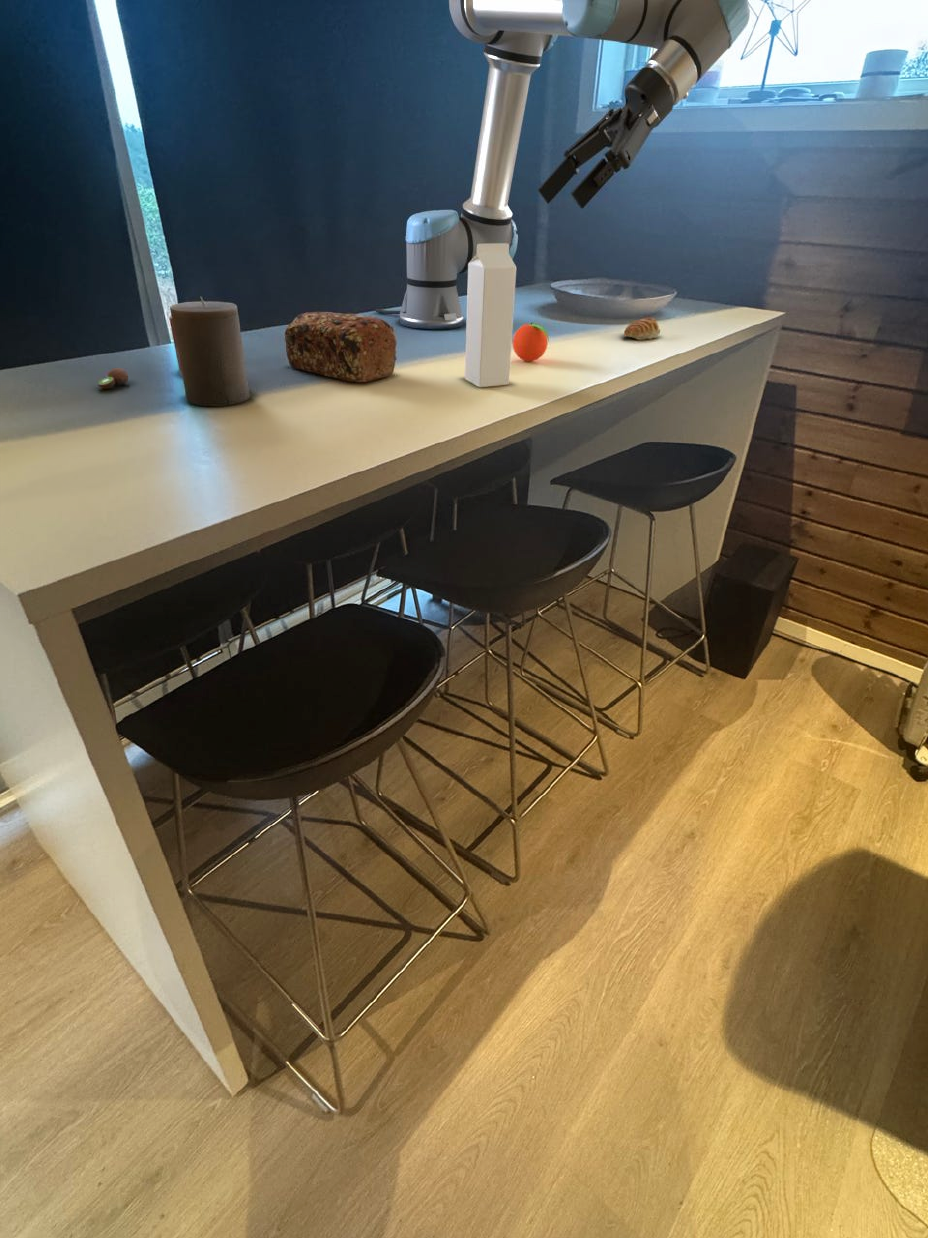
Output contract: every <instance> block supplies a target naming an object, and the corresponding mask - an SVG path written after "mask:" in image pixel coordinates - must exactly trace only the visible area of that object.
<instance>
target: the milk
mask: <svg viewBox="0 0 928 1238" xmlns="http://www.w3.org/2000/svg"><path fill="white" fill-rule="evenodd" d="M516 278H517V266H516V264H515V262H514V259H511V257H510V255H509V244H508V243H493V244H478V245H477V253H476V255H475V257H474V258H473V259H472V260H471V261H470V262H469V263H468V273H467V291H466V292H467V294H466V295H467V296H466V321H465V322H466V324H465V325H466V326H465V354H464V355H465V356H464V380H465V381H467V382H469V383H471V384H473V385H475V386H476V387H478V388H489V387H498V386H507V385H509V384H510V371H511V356H512V343H513V327H514V325H513V324H514V311H515V307H514V306H515V296H516V295H515V294H516V280H517V279H516Z"/></svg>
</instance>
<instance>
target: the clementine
mask: <svg viewBox="0 0 928 1238" xmlns="http://www.w3.org/2000/svg"><path fill="white" fill-rule="evenodd" d="M548 342H550V339H549V335H548V332H547V331H546V330H545V328H544V327H543V326H541V325H539V324H536V323H533V322H530V323H526V324H523V325H522V326H520V327H518V329H517V330H516V331H515V333H514V335H513V337H512V348H513V352H514V353H515V354H516V356H517V357H518V358H519V359H521V360H522V361H525V362H533V361H537V360H538V359H540V358H542V357H543V355H544V354H545V353H546V351H547V349H548V345H549V343H548Z"/></svg>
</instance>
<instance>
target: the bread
mask: <svg viewBox="0 0 928 1238" xmlns="http://www.w3.org/2000/svg"><path fill="white" fill-rule="evenodd" d="M284 340H285V352H286V357H287V360H288V364H289V365H290V367H291V368H292V369H299V370H302V371H305V372H309V373H312V374H318V375H321V376H324V377H329V378H335V379H338V380H341V381H347V382H355V383H368V382H370V381H376V380H379V379H382V378H387V377H390V376H391V375H393V374H394V371H395V367H396V361H397V356H396V355H397V338H396V335H395V332H394V327H393V326H392V325H391V324H389V322H388V321H386V320H384V319H383V318H380V317H377V316H372V315H361V314H356V313H340V312H331V311H330V312H329V311H312V312H305V313H301V314H297V316H296V317H295V318H294V319H293V321H292V322H291V323H289V324H288V325H287V326H286V328H285V331H284Z"/></svg>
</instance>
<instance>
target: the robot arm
mask: <svg viewBox="0 0 928 1238" xmlns="http://www.w3.org/2000/svg"><path fill="white" fill-rule="evenodd" d="M448 7H449V13H450V17H451V19H452V22H453V24H454V26H455V27H456V29H457V31H458V32H459V33H461V35H462V36H463V37H465V38H466V39H467V40H469V41H472V42H474V43H478V44H484V51H483V55H484V57H485V59H486V61H487V63H488V66H489V67H488V75H487V82H486V89H485V94H484V95H485V96H484V103H483V108H482V115H481V116H482V118H481V121H480V122H481V124H480V130H479V137H478V143H477V151H476V157H475V164H474V171H473V177H472V184H471V190H470V191H471V192H470V197H469V198H468V199H467V200H465V201H464V202H463V203H462V208H461V215H460V216H459V213H458V211H456V210H454V209H439V210H438V209H437V210H436V209H435V210H425V211H421V212H417V213H413V214H412V215H411V216H409V218H408V219H407V221H406V228H405V243H406V247H405V248H406V289H405V290H406V291H405V293H404V297H403V301H402V304H401V309H400V310H386V309H380V308H376V309H375V313H378V314H384V315H399V324H401V325H403V326H405V327H409V328H413V329H422V330H450V329H456V328H460V327H462V326H463V325H464V313H463V309H462V305H461V300H460V297H459V293H458V290H457V289H458V288H457V287H458V286H457V285H458V284H457V281H458V280H457V279H458V275H462V274H468V263H469V262H470V261H471V260H472V259H473V258H474V257H475V255H476V253H477V245H478V244H493V243H508V244H509V255H510V257H511V259H512V260H514V257H515V255H516V253H517V249H518V240H519V236H518V234H517V232H518V229H517V225H516V223H515V221H514V220H513V219H512V218H513V212H512V210H511V208H510V207H509V205H508V204H509V198H510V193H511V186H512V182H513V176H514V170H515V164H516V161H517V160H516V159H517V153H518V149H519V144H520V137H521V131H522V126H523V120H524V115H525V111H526V104H527V100H528V99H527V98H528V94H529V93H528V92H529V87H530V82H531V76H532V75H533V73H534V72H535V71H536V70H537V69H539V67H541V64H542V57H543V53H546V52H547V51H549V50H550V49H551V48H552V47H553V46H554V43H556V41H557V38H558V36H561V37H562V36H563V37H575V38H580V39H591V40H601V41H606V42H607V41H609V42H616V43H620V44H628V45H634V46H638V47H639V46H640V47H645V48H646V47H648V48H653V49H655V52H654V53H653V54H652V55H651V56H650V57H649V59H648V60H647V61H646V62H645V65H644V67H642V68H640V69H639V71H638V72H637V73H636V74H635V75H634V76H633V77H632V78H631V79H630V80H629V82H628V83H627V84H626V86H625V88H624V98H625V104H624V106H622V108H621V107H619V108H617V109H616V110H615V109H614V108H611V109H609V110H608V112H606V114H605V115H604V116H603V117H602V118H601V119H600V120H599V121H598V122H597V123H595V125H593V126H592V127H591V128H590V129H589V130H588V131H587V132H585V133H584V134H583V135H582V136H581V137H580V138H579V139H578V140H577V141H575V142H574V143H573V144H572V145H571V146H570V147H568V149H566V150H565V151H564V152H563V155H562V156H563V157H564V159H563V160H562V161H561V162H560V164H559V165H558V166H557V167H556V168H555V169H554V171H552V173H551V174H550V175H549V176H548V178H546V180H544V182H543V183H542V184H541V186H539V187H538V188H537V191H538V193H539V194H540V195H541V197H542V198H543V200H544V202H545V203H546V204H550V203H551V202H552V201H553V200H554V198H555V197H556V196H557V195H558V194H559V193H560V192H561V191H562V189H563V188H564V187H565V186H566V185H567V184H568V183H569V182H570V181H571V179H572V178H573V177H574V176H575V175H579V171H580V169H579V168H580V167H581V166H583V165H584V164H586V163H588V161H589V160H591V159H592V158H594V157H595V156H596V155H598V154H599V153H600V152H601V151H603V150H604V149H606V148H610V149H608V150H607V151H605V152H604V153H603V156H604V157H605V158H601V159H600V160H599V161H598V162H597V164H595V166H594V167H592V169H591V170H590V171H589V172H588V173H587V175H586V176H585V177H584V178H583V179H582V180H581V181H580V183H579V184H578V185H576V186H575V188H574V189H573V191H571V192H570V194H571V196H572V198H573V199H574V201H575V202H576V204H577V205H578V206H579V208H580V209H584V208H585V207H586V205H587V204H589V203H590V201H591V200H593V198H594V197H595V196H596V195H597V193H598V192H599V191H600V190H601V189H602V188H603V187H604V186H605V184H607V183H608V181H610V179H611V178H612V177H613V176H614V175H615V174H617V173H619V172H620V171H621V170H622V169H623V170H628V169H629V168H630V166H632V163H633V162H634V160H635V158H636V157H637V155H638V154H639V152H640V150H641V148H643V146H644V144H645V142H646V140H647V139H648V138H649V136H650V134H651V132H652V131H653V130H654V129H655V128H657V127H658V126H659V125H660V124H661V123H662V122H663V121H664V120H665V119H666V117H667V116H668V115H669V114H670V113H671V112H672V111H673V109H674V107H675V106H676V105H677V106H678V104H679V103H680V102H681V100H686V99H687V98H688V97H689V92H690V90H692V88H693V87H694V86H695V85H696V84H697V83H698V82H699V81H700V80H701V78H702V77H704V76H705V74H706V73H707V72H708V71H709V70H710V69H711V68H712V67H713V66H714V64H716V63H717V61H718V60H719V59H720V58H721V57H722V56H723V55H724V54H725V53H726V51H728V50H729V49H731V47H732V46H733V44H734V42H736V40H737V39H738V37H740V35H741V34H742V33H743V31H744V30H745V29H746V27H747V25H748V24H749V21H750V15H751V14H750V13H751V11H750V10H751V9H750V6H749V0H448Z"/></svg>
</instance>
